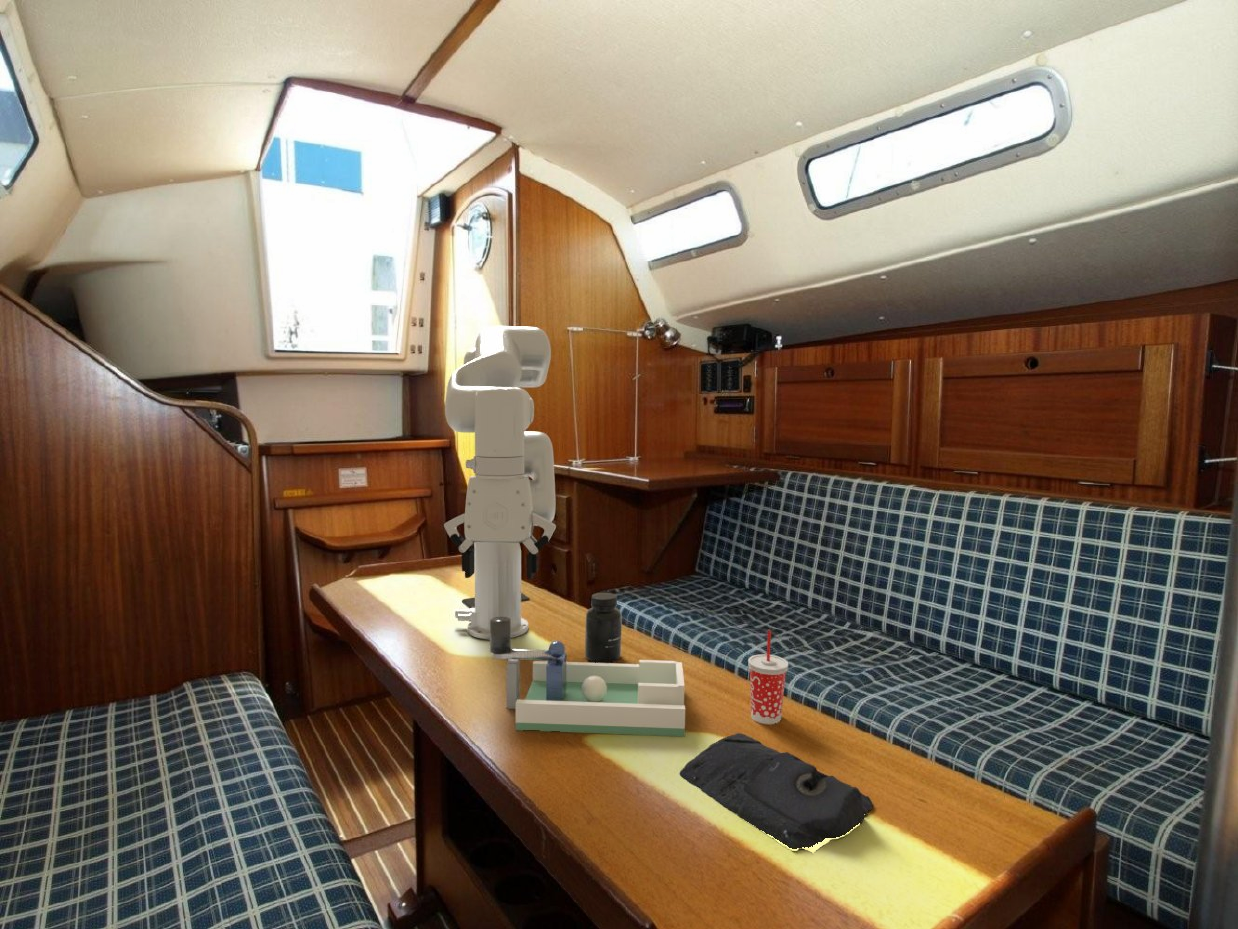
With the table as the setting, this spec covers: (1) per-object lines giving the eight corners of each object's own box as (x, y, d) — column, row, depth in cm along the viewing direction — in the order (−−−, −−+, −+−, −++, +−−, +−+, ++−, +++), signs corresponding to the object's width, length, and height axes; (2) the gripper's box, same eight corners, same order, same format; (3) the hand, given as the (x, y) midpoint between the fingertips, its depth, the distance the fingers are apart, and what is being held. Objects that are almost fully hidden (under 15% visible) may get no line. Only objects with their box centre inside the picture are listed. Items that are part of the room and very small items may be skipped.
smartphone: (518, 593, 171) (460, 602, 163) (518, 590, 171) (460, 599, 163) (531, 601, 165) (471, 611, 157) (531, 598, 164) (471, 607, 157)
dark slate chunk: (746, 741, 100) (747, 710, 100) (885, 815, 83) (887, 778, 82) (669, 776, 91) (670, 742, 90) (807, 867, 74) (809, 826, 73)
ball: (580, 706, 107) (580, 681, 106) (582, 694, 111) (583, 671, 110) (605, 707, 107) (606, 682, 106) (607, 695, 111) (607, 672, 110)
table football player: (486, 703, 106) (485, 626, 105) (494, 686, 112) (494, 613, 111) (562, 706, 106) (562, 628, 105) (566, 689, 112) (567, 615, 110)
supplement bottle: (617, 666, 126) (618, 602, 124) (581, 662, 127) (581, 599, 126) (624, 652, 132) (625, 592, 131) (589, 649, 134) (590, 589, 132)
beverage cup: (743, 707, 110) (746, 623, 108) (781, 708, 110) (785, 624, 108) (749, 726, 104) (752, 637, 102) (789, 727, 103) (793, 638, 102)
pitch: (496, 729, 101) (496, 682, 101) (517, 683, 117) (517, 642, 117) (684, 736, 100) (685, 688, 99) (679, 689, 116) (681, 647, 115)
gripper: (436, 469, 102) (438, 581, 103) (552, 471, 101) (551, 584, 103) (451, 464, 109) (452, 569, 111) (558, 466, 109) (558, 572, 110)
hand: (500, 576), depth 107 cm, fingers open, 9 cm apart
